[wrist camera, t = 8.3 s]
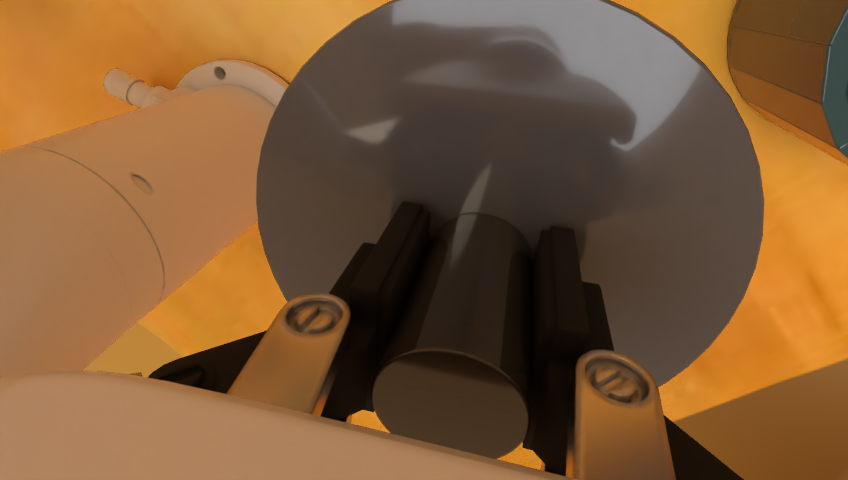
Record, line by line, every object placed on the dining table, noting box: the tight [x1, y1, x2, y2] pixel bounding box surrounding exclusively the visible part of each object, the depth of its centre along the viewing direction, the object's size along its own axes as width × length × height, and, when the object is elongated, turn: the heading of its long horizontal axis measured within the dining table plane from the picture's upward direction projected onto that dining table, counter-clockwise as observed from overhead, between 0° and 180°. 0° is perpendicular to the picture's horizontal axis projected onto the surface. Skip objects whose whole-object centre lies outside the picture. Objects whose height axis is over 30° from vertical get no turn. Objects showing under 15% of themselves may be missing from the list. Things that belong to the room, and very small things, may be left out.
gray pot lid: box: [256, 0, 764, 459], centre depth 10 cm, size 13×13×6 cm
